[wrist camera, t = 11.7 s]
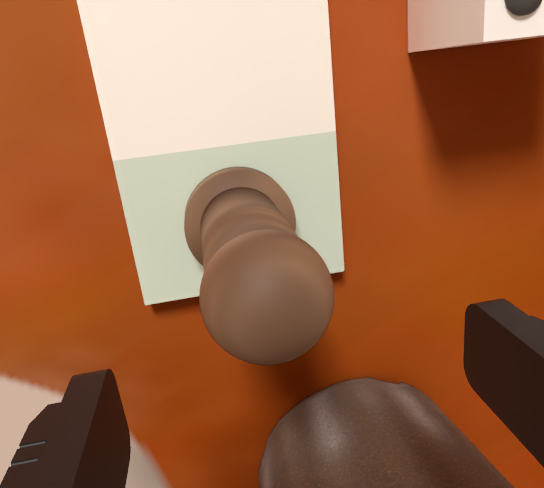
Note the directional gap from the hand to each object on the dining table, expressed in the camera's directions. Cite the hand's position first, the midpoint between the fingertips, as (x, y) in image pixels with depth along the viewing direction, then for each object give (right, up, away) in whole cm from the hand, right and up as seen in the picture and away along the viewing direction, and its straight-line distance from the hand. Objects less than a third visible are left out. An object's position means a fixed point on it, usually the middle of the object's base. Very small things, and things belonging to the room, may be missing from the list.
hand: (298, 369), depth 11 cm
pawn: (-2, +4, +12) cm, 12 cm away
